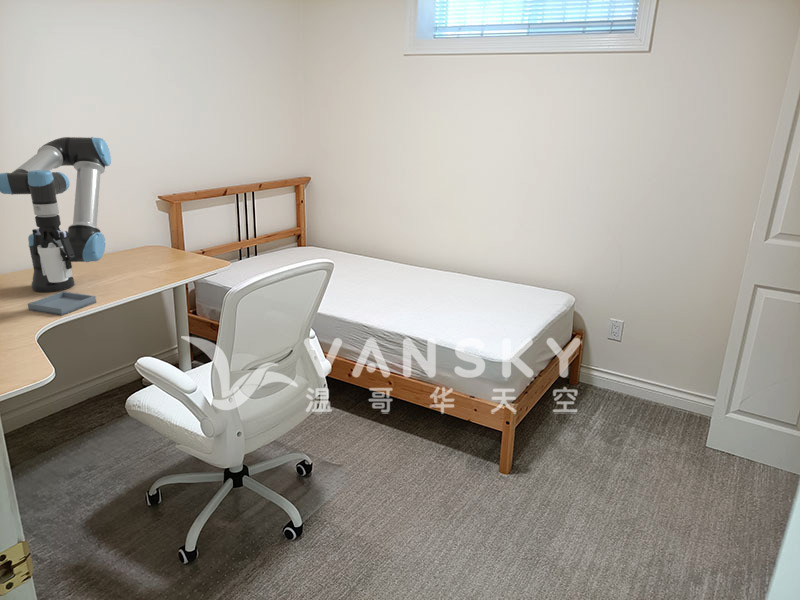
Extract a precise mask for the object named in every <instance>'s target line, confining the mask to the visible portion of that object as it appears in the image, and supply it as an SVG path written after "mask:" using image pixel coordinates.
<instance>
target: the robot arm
mask: <svg viewBox="0 0 800 600" xmlns="http://www.w3.org/2000/svg"><path fill="white" fill-rule="evenodd" d="M111 162H112V156H111V152H110V148H109V145H108V144H107V142H106V140H104V138H103V137H102V138H101V137H94V136H91V137H82V136H81V137H80V136H77V137H75V136H74V137H73V136H72V137H71V136H65V137H60V138H55V139H54V140H51V141H48V142H46V143H45V144H43V145H42V146H41V147H39V149H38V150H37V152H36V154H34V155H33V156H32V157H31V158H29V159H28V160H27V161H25V162H24V163H23V164H21V165H20V166H19V167H17V168H16V169H14V170H13V171H12V172H1V173H0V193H1V194H3V195H13V196H14V195H30V196H31V197H30V198H31V202H32V207H33V214H34V215H35V217H34V220H35V225H36V227H37V228H34V229H32V233H31V234H29V235H28V237H27V238H28V247H29V252H30V258H31V262H32V268H33V273H32V274H33V275H32V281H31V289H32V291H34V292H38V293H49V292H50V293H52V292H58V291H64V290H67V289H70V288H72V287H74V286H75V284H76V283H75V279H74V277H73V272H72V268H73V266H72V263H78V262H79V263H80V262H83V263H90V262H97V261H100V260H101V259H102V258H103V256H104V254H105V252H106V251H105V250H106V237H105V235H104V234H103V233H101V229H100V228H99V227H98V226H97V225H98V214H99V213H98V212H99V201H100V200H99V198H100V183H101V175H102V174H104V173H105V172H106V171H105V170H106V167H108V166H111V164H112V163H111ZM63 166H66V167H67V166H70V167H71V166H72V167H73V168H74V170H76V179H75V181H76V183H75V193H74V207H73V218H72V224H71V225H69V226H68V228H67V230H65V231H62V230H61V228H60V225H61V217H60V215H59V213H60V211H59V206H58V200H57V195H58V194H63V193H65V192H66V191H67V190H69V188H70V183H71V182H70V179H69V177H68V175H66V174H65V173H63V172H60V171H59V172H58V171H54V172H53V171H52V170H54V169H58V168H60V167H63ZM49 243H53V244H55V246H56V247H62V246H63V248H60V254H61V256H62V258H63V260H62V265H63V271H64V276H65V278H68V280H66V281H63V282H55V283H53V282H49V281H48V278H47V275H46V272H45V270H44V267H43V264H42V261H41V258H40V255H39V254H38V249H37V247H38V246H39V245H41V246H42V248H48V245H49ZM66 256H67V257H66Z"/></svg>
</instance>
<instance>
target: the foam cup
mask: <svg viewBox="0 0 800 600" xmlns="http://www.w3.org/2000/svg"><path fill="white" fill-rule="evenodd" d="M60 248H63V246H62V247H56V246H55V244H53V243H49V245H48V248H42V246H41V245H39V246H38V247H37V249H38V254H39V255H40V258H41V261H42V264H43V267H44V270H45V272H46V275H47V278H48V281H49V282H53V283H55V282H63V281H66V280H68V278H65V276H64V271H63V265H62V260H63V258H62V256H61V254H60ZM66 257H67V256H66Z"/></svg>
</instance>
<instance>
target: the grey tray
mask: <svg viewBox="0 0 800 600" xmlns="http://www.w3.org/2000/svg"><path fill="white" fill-rule="evenodd" d="M96 303H97V297H96V295H90V294H84V293H77V292H71V291H69V292H68V291H64V290H62V291H61V292H58V293H54V294H52V295H49V296H45V297H43V298H39V299H37V300H34V301H32V302H29V303H27V308H28V311H30V312H35V313H36V312H37V313H41V314H49V315H56V316H60V317H63V316H66V315H68V314H71V313H73V312H76V311H78V310H81V309H83V308H86V307H89V306H91V305H94V304H96Z"/></svg>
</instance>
